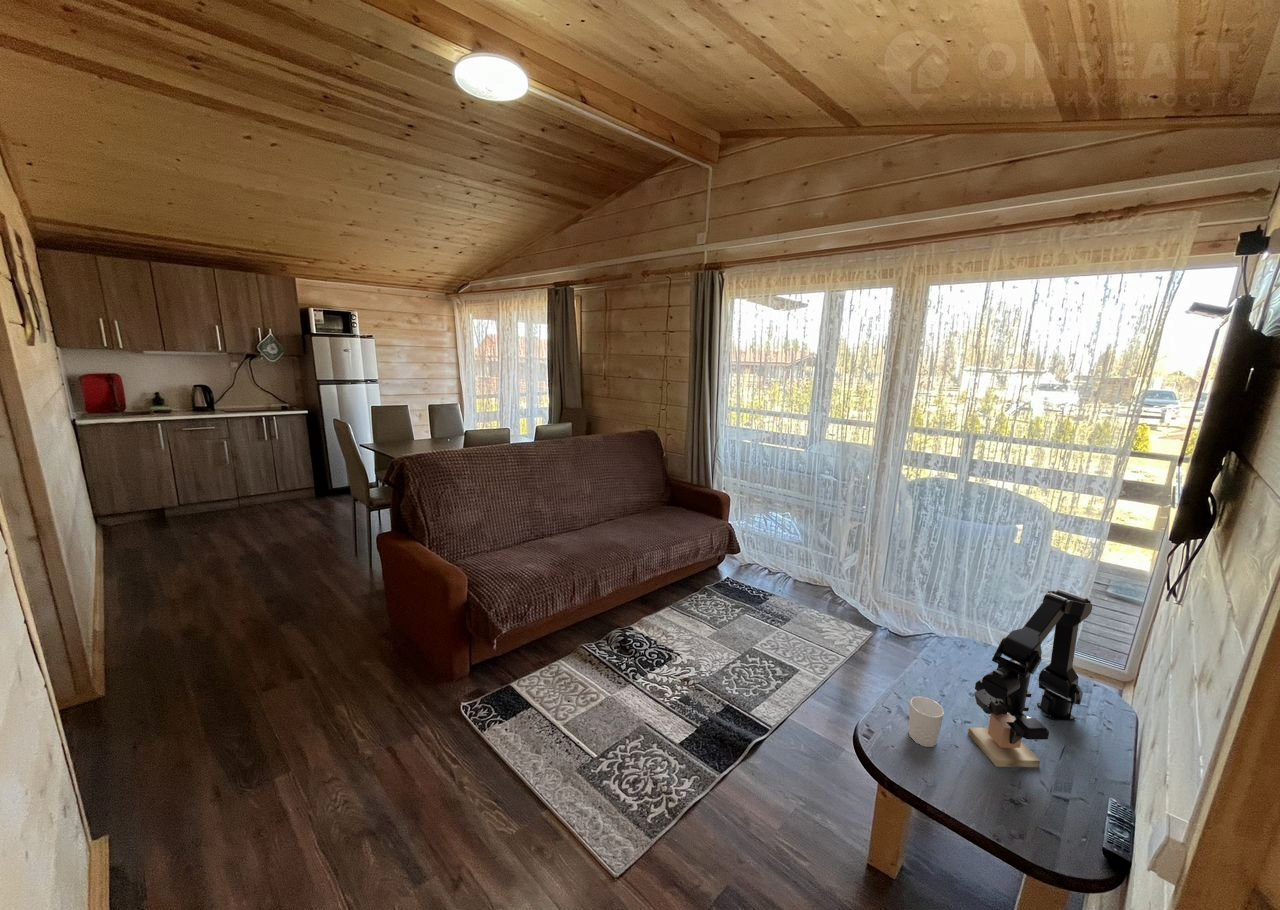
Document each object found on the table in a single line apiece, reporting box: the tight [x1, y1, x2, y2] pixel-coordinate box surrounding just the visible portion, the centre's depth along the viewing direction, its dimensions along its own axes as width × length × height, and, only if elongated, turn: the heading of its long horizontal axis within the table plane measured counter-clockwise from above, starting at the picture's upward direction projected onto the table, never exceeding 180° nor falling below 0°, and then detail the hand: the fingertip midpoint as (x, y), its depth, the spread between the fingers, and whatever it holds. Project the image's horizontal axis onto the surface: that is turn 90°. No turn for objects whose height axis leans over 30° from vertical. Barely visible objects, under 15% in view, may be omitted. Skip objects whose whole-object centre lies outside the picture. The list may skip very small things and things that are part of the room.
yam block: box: [987, 713, 1023, 748], centre depth 128 cm, size 5×5×6 cm
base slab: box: [967, 727, 1041, 768], centre depth 129 cm, size 11×11×2 cm
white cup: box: [908, 696, 945, 748], centre depth 132 cm, size 8×8×10 cm
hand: (1004, 735), depth 128 cm, fingers closed on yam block, 5 cm apart
